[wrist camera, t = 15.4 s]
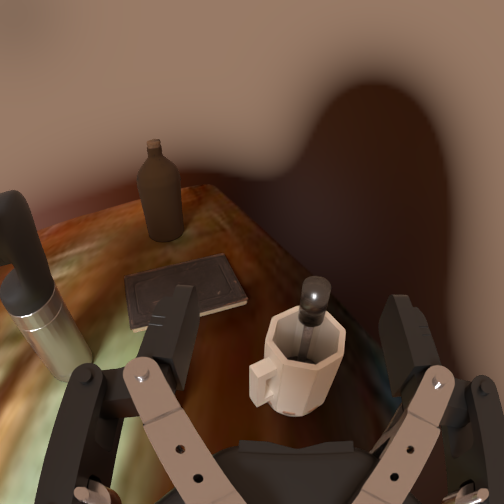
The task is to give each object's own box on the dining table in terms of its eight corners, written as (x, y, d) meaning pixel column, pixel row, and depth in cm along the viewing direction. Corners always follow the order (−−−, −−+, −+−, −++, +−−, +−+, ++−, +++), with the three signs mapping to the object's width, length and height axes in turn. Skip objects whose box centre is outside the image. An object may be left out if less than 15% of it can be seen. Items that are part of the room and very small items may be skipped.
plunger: (265, 371, 45) (271, 277, 34) (302, 352, 48) (321, 257, 36) (290, 405, 40) (311, 319, 29) (329, 383, 43) (361, 293, 32)
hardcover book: (248, 307, 62) (248, 298, 61) (133, 336, 55) (130, 328, 54) (223, 259, 74) (222, 251, 72) (126, 282, 67) (123, 274, 66)
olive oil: (168, 248, 76) (153, 150, 61) (138, 236, 80) (121, 146, 65) (194, 227, 84) (185, 136, 68) (164, 217, 88) (153, 132, 72)
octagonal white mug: (237, 388, 47) (233, 333, 38) (301, 356, 52) (314, 297, 43) (269, 436, 40) (276, 394, 31) (336, 397, 45) (361, 344, 36)
